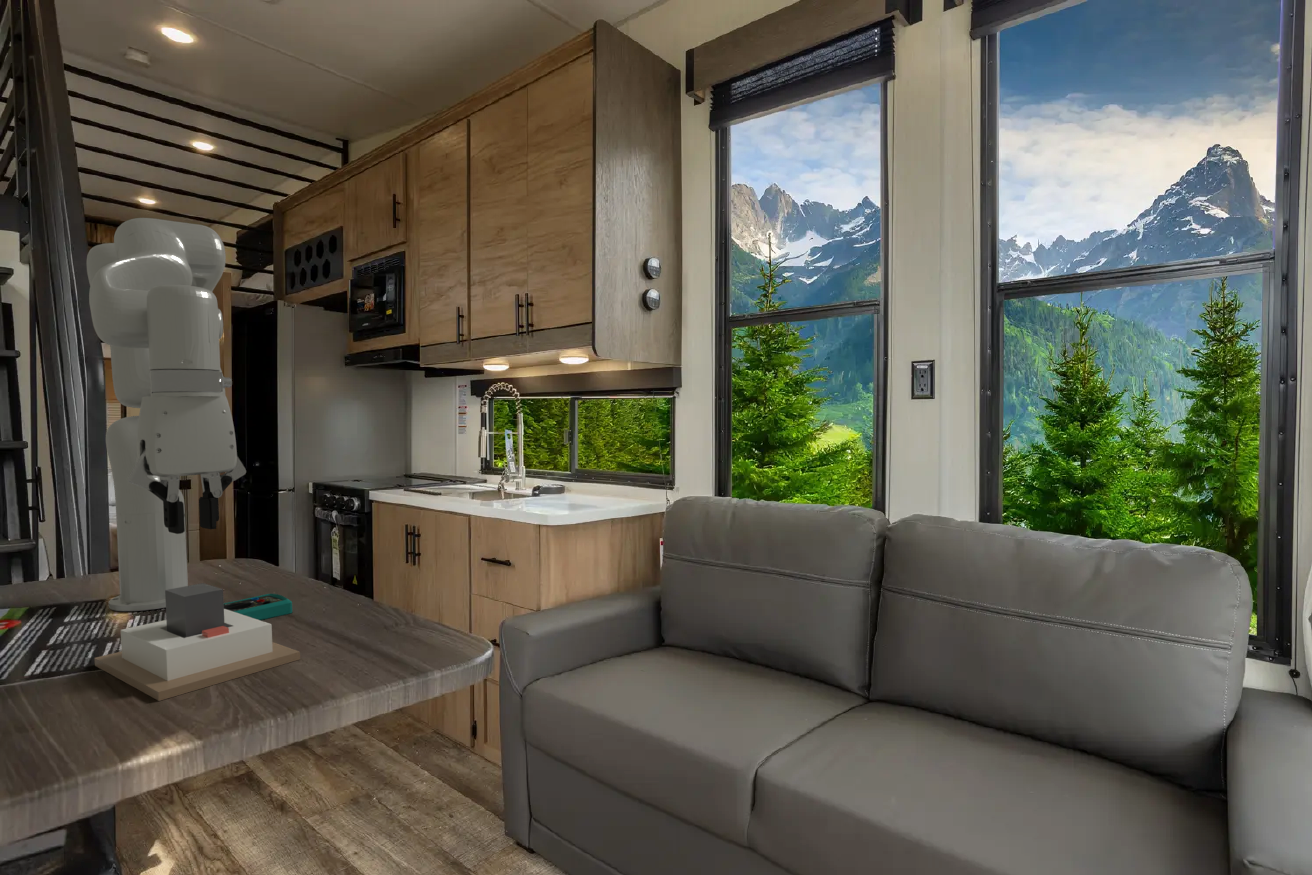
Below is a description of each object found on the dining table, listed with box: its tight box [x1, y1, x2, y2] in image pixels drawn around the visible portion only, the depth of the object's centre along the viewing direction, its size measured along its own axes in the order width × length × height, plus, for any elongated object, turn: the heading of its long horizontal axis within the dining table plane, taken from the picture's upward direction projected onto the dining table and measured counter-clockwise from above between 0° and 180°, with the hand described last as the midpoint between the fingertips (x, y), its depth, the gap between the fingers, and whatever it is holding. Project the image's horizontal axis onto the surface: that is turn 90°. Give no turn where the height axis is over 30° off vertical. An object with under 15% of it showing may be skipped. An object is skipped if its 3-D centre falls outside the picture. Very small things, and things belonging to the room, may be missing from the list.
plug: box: [165, 582, 225, 638], centre depth 93 cm, size 6×4×8 cm
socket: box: [94, 609, 301, 702], centre depth 93 cm, size 20×16×5 cm
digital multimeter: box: [224, 593, 293, 621], centre depth 112 cm, size 7×15×3 cm, turn 142°
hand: (192, 529), depth 93 cm, fingers open, 3 cm apart
